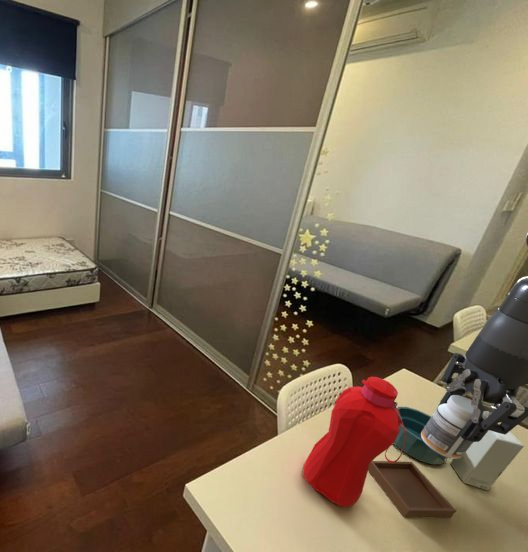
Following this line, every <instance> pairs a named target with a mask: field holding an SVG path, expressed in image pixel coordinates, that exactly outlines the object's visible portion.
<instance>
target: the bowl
mask: <svg viewBox="0 0 528 552" xmlns="http://www.w3.org/2000/svg"><path fill="white" fill-rule="evenodd" d="M396 408H397V409H398V411H399V412H400V416H401V418H402V422H403V425H404V427H405V429H406V438H405V429H404V427H403V425H402V423H401V428H400V426H399V429H400V432H399V434H398V435H397V438H396V440H395V442H394V443H393V444H394V446H396V447H397V449H400V450H401V451H402V450H403V452H404V453H405V454H406V455H407V456H410V457H412V458H413V459H416V460H418V461H420V462H423V463H426V464H430V465H442V464H444V463H445V462H446V461H447V460H448V459H449V458H448V457H445V456H443V455H441V454H439V453H437V452H435V451H434V450H432V449H431V448H430V447H429V446H428V445H426V443H425V442H424V441H423V439H422V437H421V432H422V430H423V429H424V427H425V426H426V424H427V422H428V421H429V420H430V418H431V417H432V415H429V414H427V413H426V412H423V411H421V410H418V409H417V408H412V407H409V406H396ZM404 441H405V444H404ZM403 446H404V449H403ZM403 452H402V453H403Z"/></svg>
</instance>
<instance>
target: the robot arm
mask: <svg viewBox="0 0 528 552" xmlns="http://www.w3.org/2000/svg"><path fill="white" fill-rule="evenodd" d="M525 243H526V247H528V233H527V234H526V237H525ZM454 374H457V376H456V377H453V376H454ZM441 381H442V383H445V384H446V386H445V391H446V392H445V394H444V395H443V397H442V398H441V400H440V402H439V404H437V407H438V406H440V405H441V404H447V401H448V399H449V398H450V397H451V396H452V395H459V396H463V397H466V396H468V395H470V394H471V396H472V398H471V400H472V402H471V405H472V406H473V407H474V410H473V414H472V419H469V421H468V422H467V423H466V425H465V426H464V427H463V429H462V430H461V431H460V433H459V435H460V436H461V437H462V439H465V440H468V441H472V442H479V441H481V439H482V438H483V436H485V434H486V433H487V432H488V431H489V430H490V431H494V432H497V433H501V434H507V433H508V432H509V431H510V432H512V430H514V428H516V427H517V426H519V424H520V423H522V422H523V421H525V419H527V418H528V406H527V405H522V404H521V403H520V402H519V401H518V399H517V398H516V397H517V396H518V391H519V388H520V387H523V386H525V385H528V275H527V276H523V277H521V278H519V279H518V280H517V281H516V282H515V283H514V284H513V286H512V287H511V289H510V290H509V292H508V293H507V295H506V296H505V298H504V299H503V300H502V302H501V303H500V304H499V307H498V308H497V309H496V310H495V311H494V313H493V314H492V315H490V317H489V318H488V319H487V320H486V322H485V323H484V325H483V326H482V328H481V330H480V331H479V333H478V334H477V335H476V336H475V338H474V340H473V341H472V343H471V344H470V346H469V347H468V349H467V350H466V351H465V354H464V353H459V352H454V353H453V355H452V356H451V359H450V361H449V363H448V365H447V367H446V369H445V371H444V373H443V376H442V378H441ZM483 402H484V403H487V404H493V405H486V404H484V403H483ZM484 411H487V412H488V416H487V417H486V418H483V413H484Z"/></svg>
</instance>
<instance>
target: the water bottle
mask: <svg viewBox="0 0 528 552" xmlns="http://www.w3.org/2000/svg"><path fill="white" fill-rule="evenodd" d="M361 384H363V386H359V385H357V386H349V387H347V388H346V389H344V390H343V391H342V392H341V393H340V395H339V396H338V397H337V398H336V400H335V404H334V406H333V408H332V409H331V414H330V420H329V426H328V427H329V428H328V432H326V433H325V434H324V435H323V436H322V437H321V438H319V440H318V441H317V442H316V443H315V444H314V445H313V447H312V449H311V451H310V452H309V454H308V456H307V458H306V460H305V462H304V464H303V477H304V479H305V480H306V482H307V483H308V484H309V485H310V486H311V488H313V489H314V490H315V491H316V492H317V493H320V494H322V495H324V497H326V498H327V499H328V501H331V502H332V503H333V504H336V505H338V506H340V507H345V508H350V507H352V506H353V505H355V504H356V503H357V501H358V500H359V499H360V497H361V495H362V493H363V490H364V486H365V483H366V478H367V476H368V473H369V471H368V468H369V464H370V463H371V462H372V461H375V459H377V457H379V456H380V455H381V454H383V453H384V452H385V453H384V457H385V461H389V462H391V463H394V462H396V461H399V460H400V458H401V457H402V455H403V450H401V453H400V454H399V456H398V458H397V459H395V460H390V459H389V458H387V452H388V450H389V449H390V447H391V446H392V445H393V444H394V442H395V440H396V438H397V435H398V434H399V432H400V429H399V426H400V428H401V423H402V425H403V422H402V418H401V416H400V412H399V411H398V409H397V407H398V402H397V401H396V399H397V397H398V396H399V392H398V390H397V388H396V387H395V386H394V385H393V384H392V383H391V382H390V381H387V380H386V379H383V378H381V377H378V376H369V377H367V379H364V378H363V379H362V380H361ZM403 427H404V425H403ZM404 429H405V427H404ZM405 438H406V429H405ZM404 444H405V441H404ZM403 449H404V446H403Z"/></svg>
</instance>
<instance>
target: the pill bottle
mask: <svg viewBox="0 0 528 552" xmlns="http://www.w3.org/2000/svg"><path fill="white" fill-rule="evenodd" d="M471 402H472V398H469V397H466V396H463V395H462V396H459V395H452V396H451V397H450V398H449V399H448V401H447V404H441V405H440V406H438V405H437V407H436V409H435V411H434V412H433V414H432V415H431V418H430V420H429V421H428V422H427V424H426V426H425V427H424V429H423V430H422V432H421V437H422V439H423V441H424V442H425V443H426V445H428V446H429V447H430V448H431V449H432V450H434V451H435V452H437V453H439V454H441V455H443V456H445V457H448V458H447V459H452V460H453V459H458V458H461V457H462V456H463V454H464V453H465V452H466V451H467V450H468V448H469V447H470V446H471V445H472V443H473V442H472V441H468V440H465V439H462V437H461V436H460V435H459V433H460V431H461V430H462V429H463V427H464V426H465V425H466V423H467V422H468V421H469V419H472V414H473V410H474V407H473V406H472V405H471ZM488 413H489V412H488V411H484V413H483V418H487V417H488Z"/></svg>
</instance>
